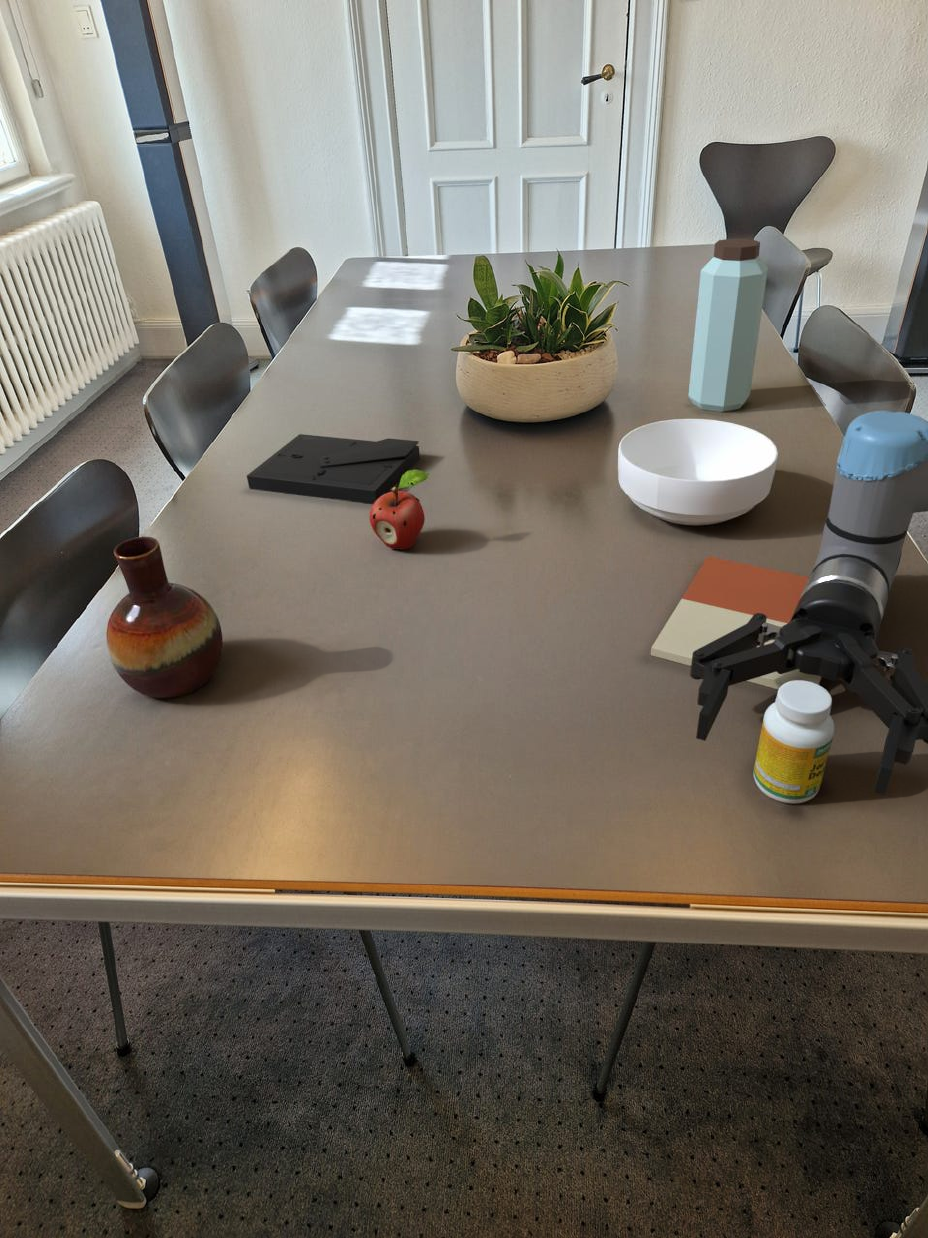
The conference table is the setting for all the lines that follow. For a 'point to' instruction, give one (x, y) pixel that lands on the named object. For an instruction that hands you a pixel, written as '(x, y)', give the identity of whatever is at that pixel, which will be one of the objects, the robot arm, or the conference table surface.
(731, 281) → the water bottle
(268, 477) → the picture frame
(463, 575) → the conference table surface
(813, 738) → the supplement bottle
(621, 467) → the bowl
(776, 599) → the sorting mat
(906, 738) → the robot arm
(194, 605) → the vase
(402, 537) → the apple
